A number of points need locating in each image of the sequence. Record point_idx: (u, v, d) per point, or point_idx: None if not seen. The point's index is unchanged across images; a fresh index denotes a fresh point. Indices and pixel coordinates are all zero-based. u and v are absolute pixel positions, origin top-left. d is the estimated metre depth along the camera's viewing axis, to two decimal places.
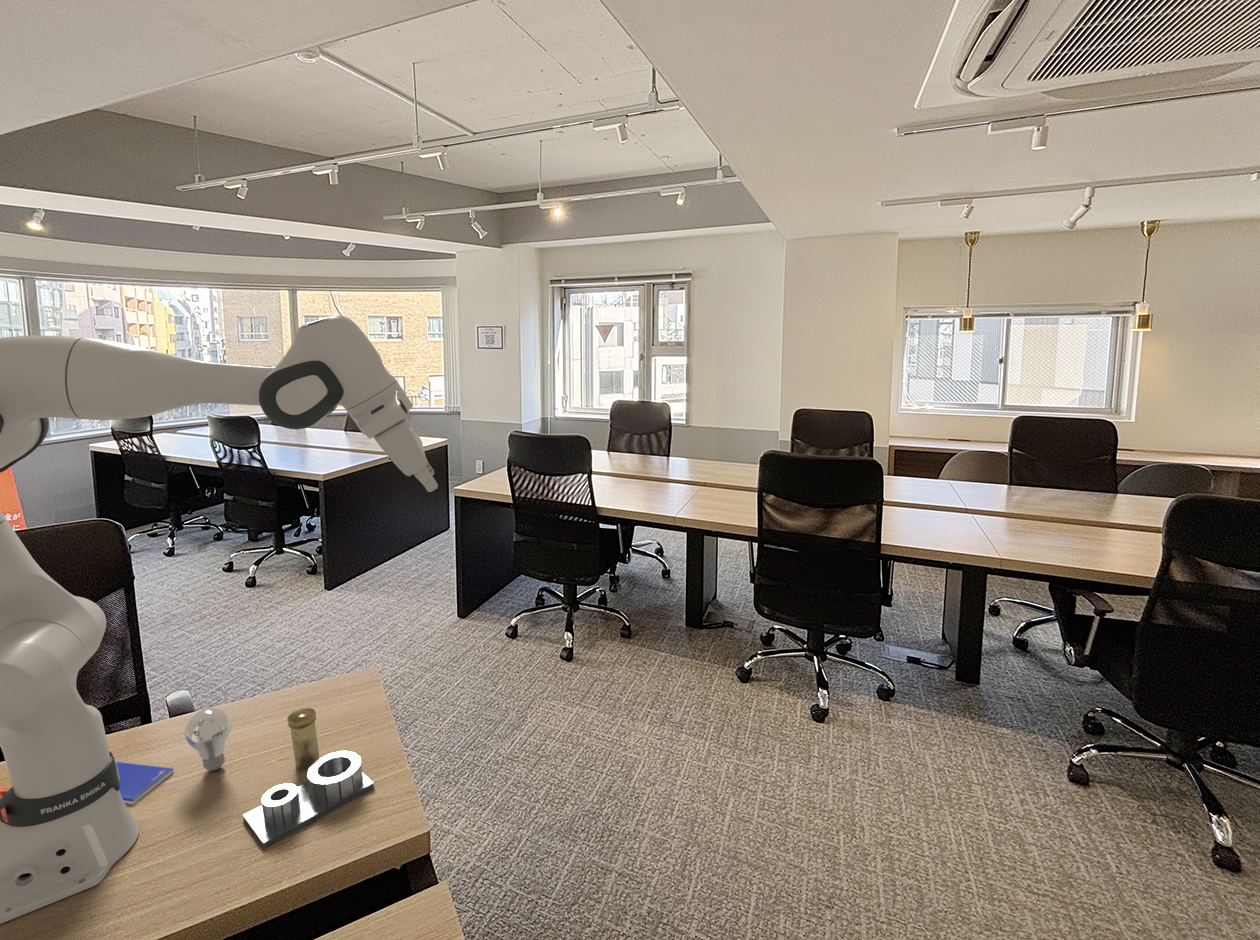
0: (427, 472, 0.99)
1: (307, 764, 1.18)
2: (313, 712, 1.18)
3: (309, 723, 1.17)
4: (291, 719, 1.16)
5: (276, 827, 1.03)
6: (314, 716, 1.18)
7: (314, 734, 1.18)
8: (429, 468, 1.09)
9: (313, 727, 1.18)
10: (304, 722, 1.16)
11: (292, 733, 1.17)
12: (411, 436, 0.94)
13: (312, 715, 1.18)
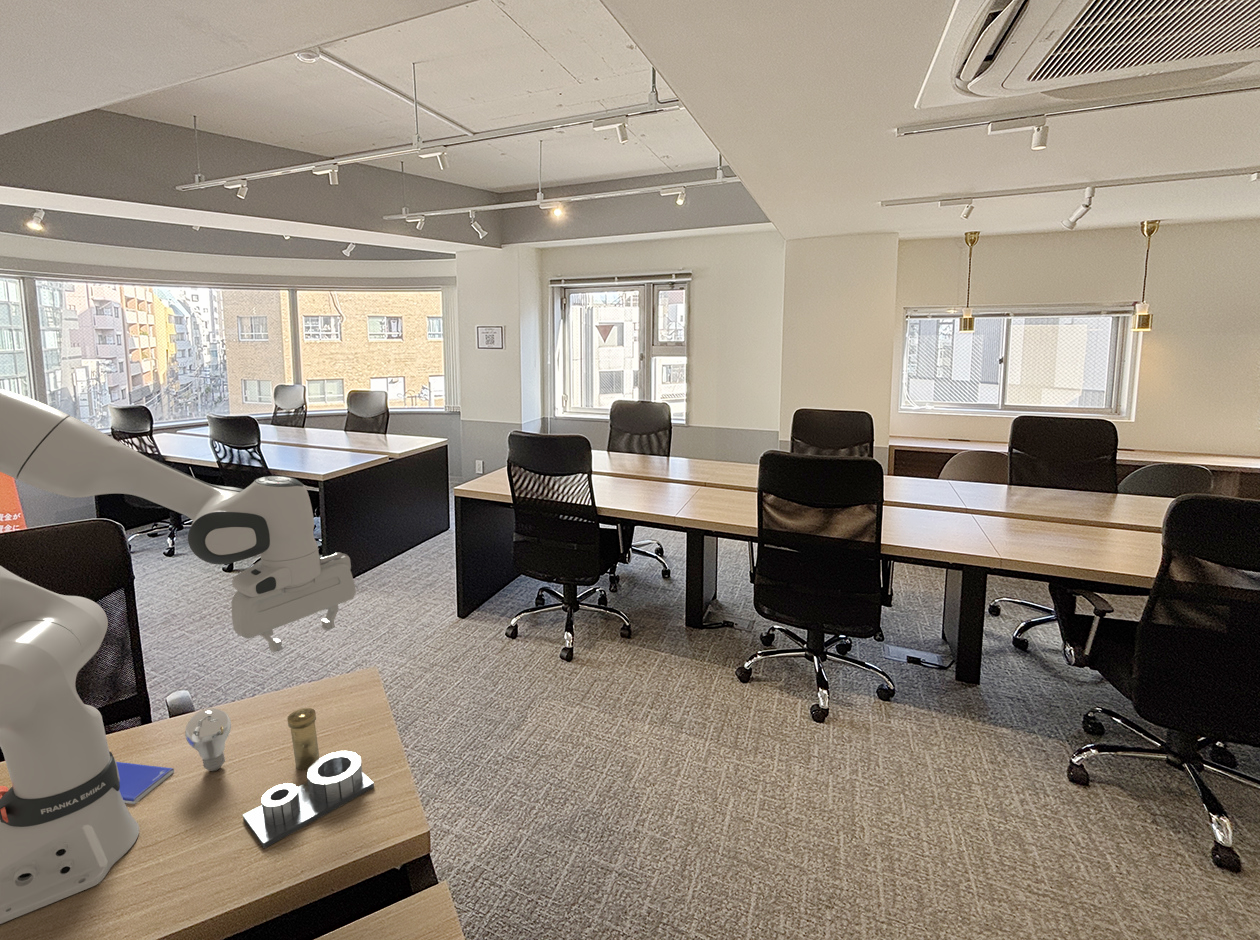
0: (266, 638, 1.09)
1: (307, 764, 1.18)
2: (313, 712, 1.18)
3: (309, 723, 1.17)
4: (291, 719, 1.16)
5: (276, 827, 1.03)
6: (314, 716, 1.18)
7: (314, 734, 1.18)
8: (325, 624, 1.18)
9: (313, 727, 1.18)
10: (304, 722, 1.16)
11: (291, 733, 1.17)
12: (243, 613, 1.04)
13: (312, 715, 1.18)
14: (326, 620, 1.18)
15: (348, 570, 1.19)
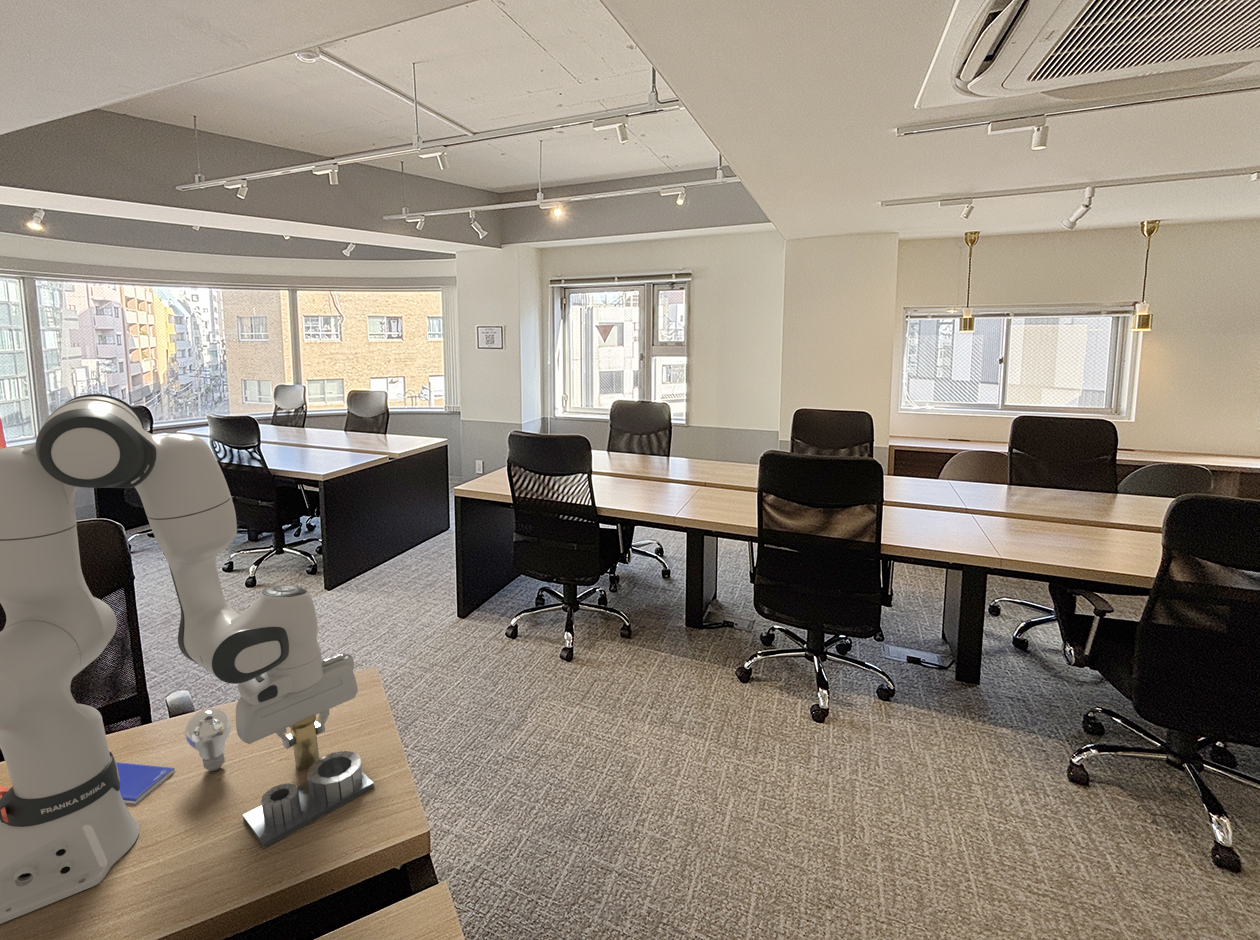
0: (279, 736, 1.14)
1: (307, 764, 1.18)
2: None
3: (309, 722, 1.17)
4: None
5: (276, 827, 1.03)
6: (314, 716, 1.18)
7: (314, 734, 1.18)
8: (316, 728, 1.19)
9: (313, 727, 1.18)
10: (304, 722, 1.16)
11: (291, 733, 1.17)
12: (244, 720, 1.08)
13: None
14: (317, 724, 1.20)
15: (350, 671, 1.22)
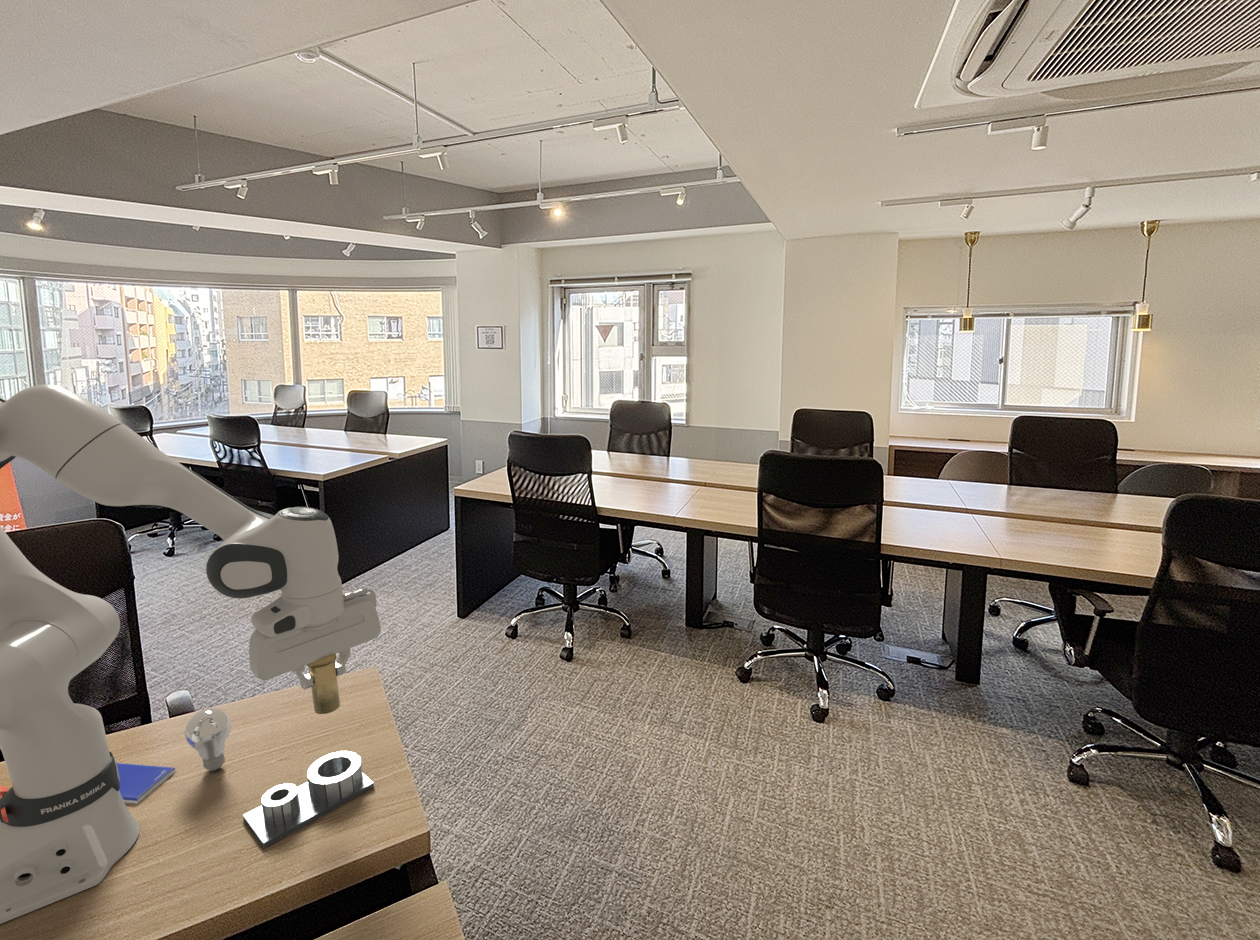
0: (297, 675, 1.04)
1: (327, 707, 1.08)
2: None
3: (330, 661, 1.06)
4: None
5: (276, 827, 1.03)
6: (334, 654, 1.08)
7: (334, 675, 1.08)
8: (336, 669, 1.09)
9: (333, 666, 1.08)
10: (324, 660, 1.06)
11: (310, 673, 1.07)
12: (259, 654, 0.98)
13: None
14: (337, 664, 1.10)
15: (373, 607, 1.12)
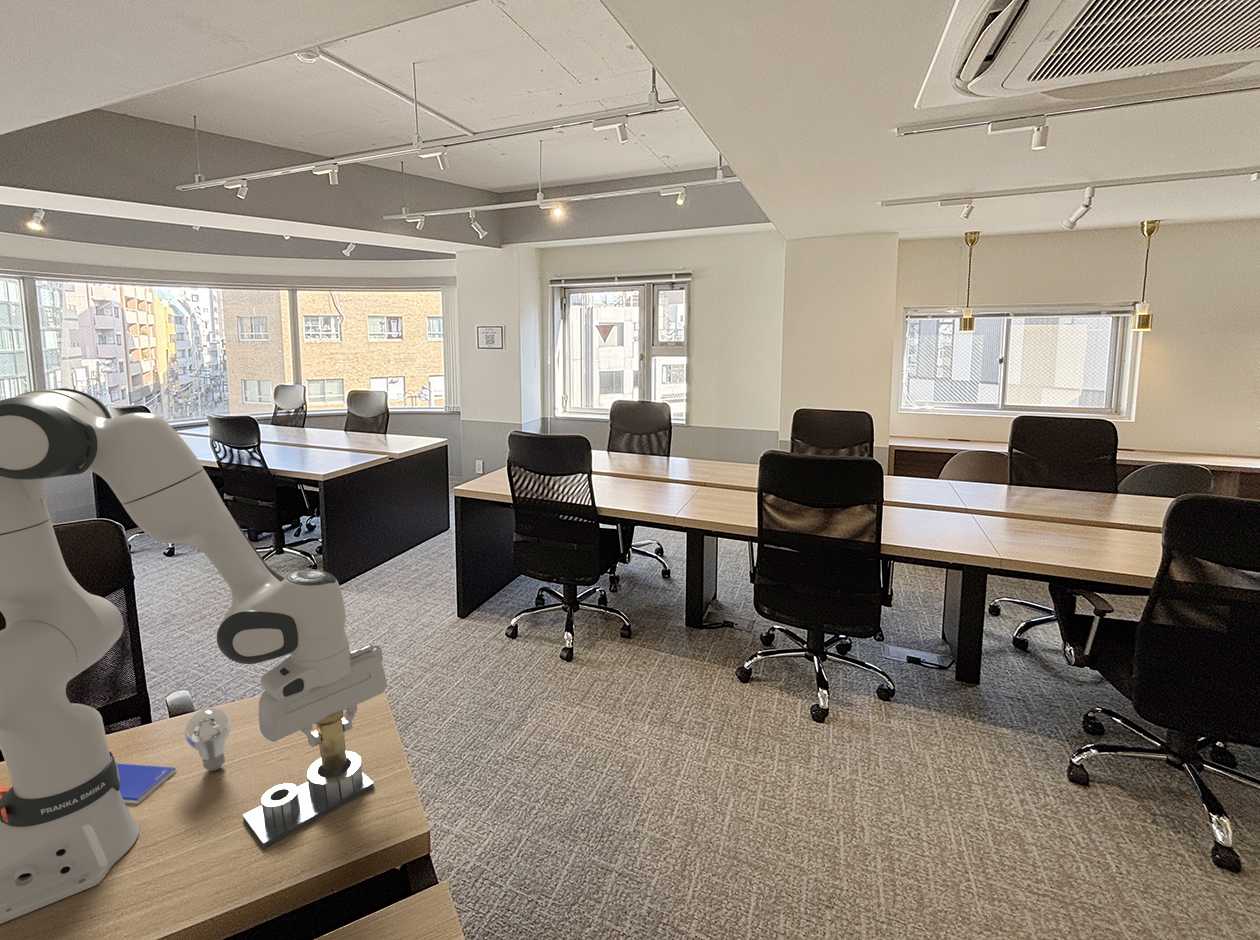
0: None
1: (334, 763, 1.10)
2: None
3: (337, 719, 1.09)
4: None
5: (276, 827, 1.03)
6: (341, 712, 1.10)
7: (341, 731, 1.10)
8: (343, 725, 1.11)
9: (340, 723, 1.10)
10: (331, 718, 1.08)
11: (318, 731, 1.09)
12: (269, 716, 1.00)
13: None
14: (344, 720, 1.12)
15: (379, 664, 1.14)
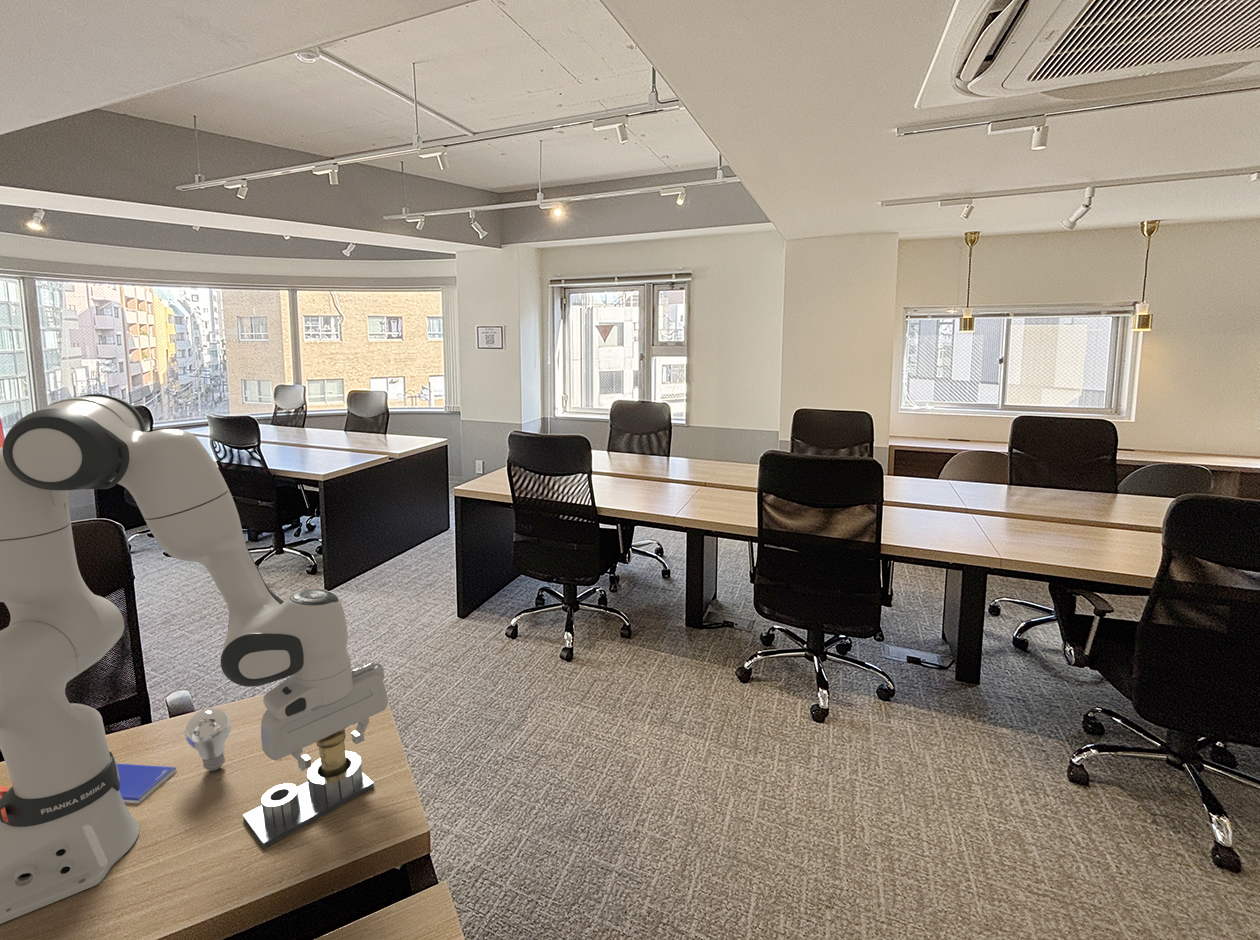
0: (295, 757, 1.06)
1: None
2: (342, 730, 1.12)
3: (339, 741, 1.10)
4: None
5: (276, 827, 1.03)
6: (344, 734, 1.11)
7: (343, 753, 1.11)
8: (355, 738, 1.14)
9: (342, 746, 1.11)
10: (333, 741, 1.09)
11: (320, 753, 1.10)
12: (271, 736, 1.01)
13: (341, 733, 1.11)
14: (356, 733, 1.14)
15: (381, 681, 1.15)
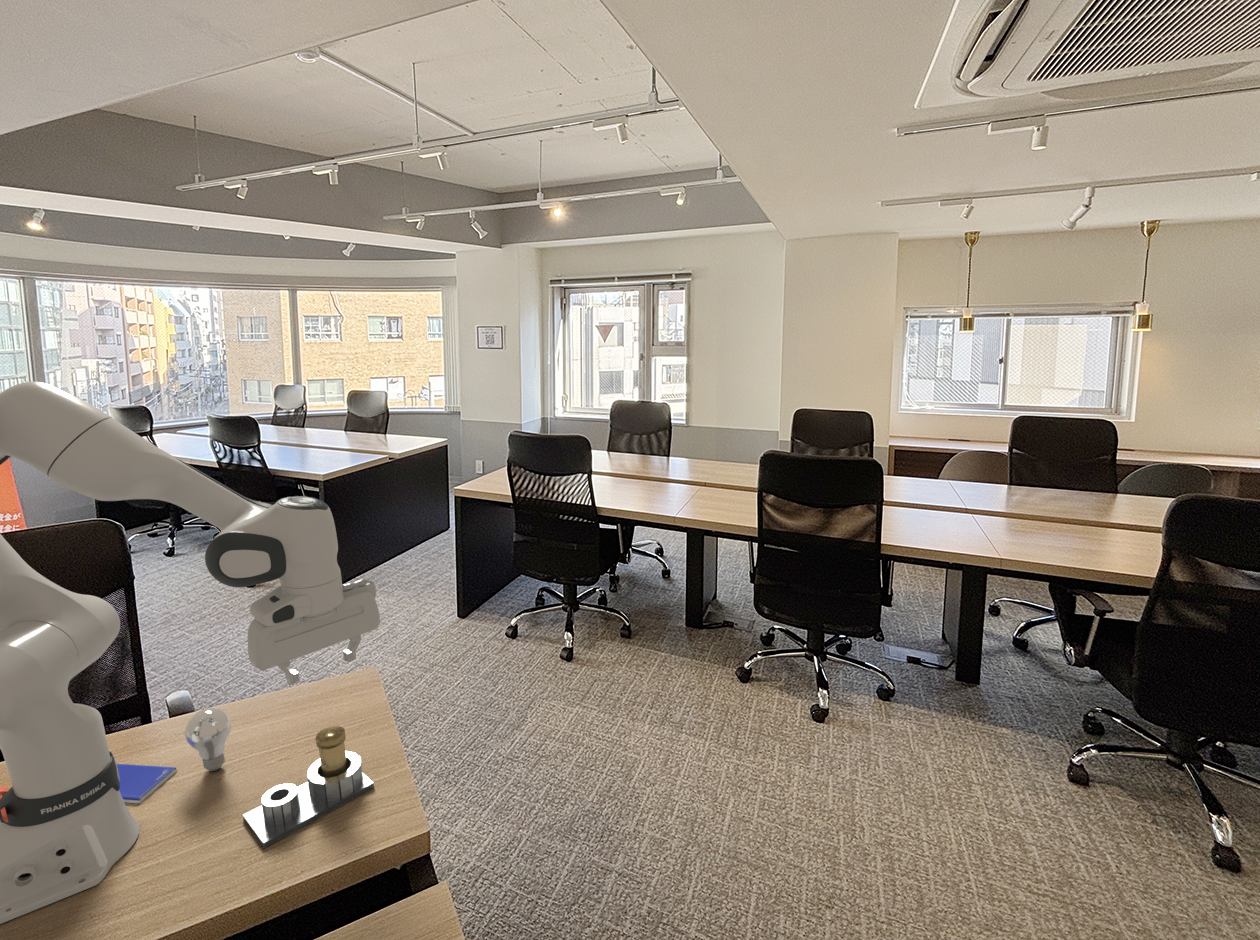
0: (282, 670, 1.02)
1: None
2: (343, 731, 1.11)
3: (339, 742, 1.10)
4: (320, 739, 1.09)
5: (276, 827, 1.03)
6: (344, 735, 1.11)
7: (343, 754, 1.11)
8: (346, 655, 1.10)
9: (342, 746, 1.11)
10: (334, 742, 1.09)
11: (320, 754, 1.10)
12: (258, 643, 0.98)
13: (342, 734, 1.11)
14: (347, 651, 1.11)
15: (372, 598, 1.11)
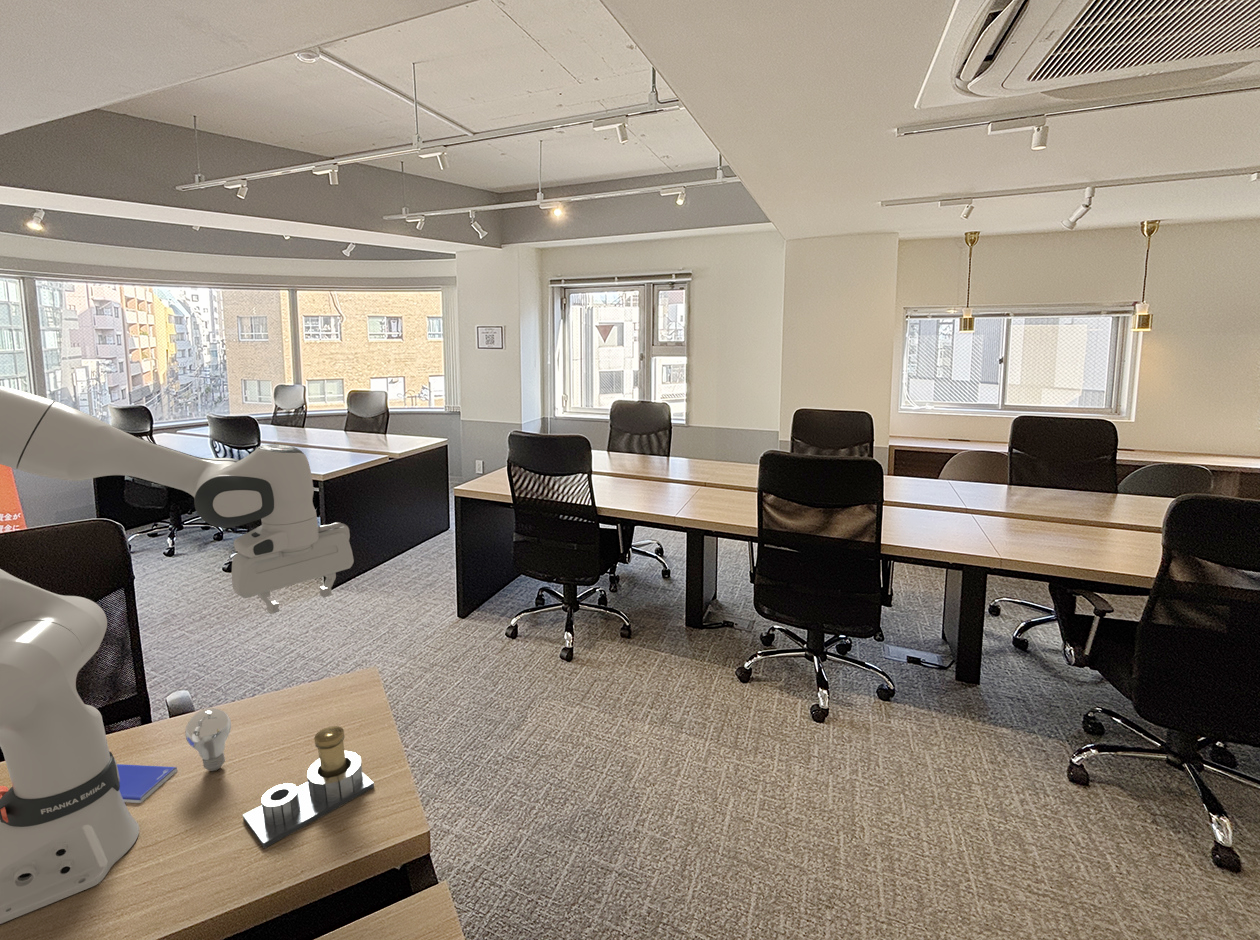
0: (263, 600, 1.14)
1: None
2: (341, 731, 1.11)
3: (338, 742, 1.10)
4: (318, 739, 1.09)
5: (276, 827, 1.03)
6: (342, 735, 1.11)
7: (343, 754, 1.11)
8: (322, 591, 1.22)
9: (341, 746, 1.11)
10: (333, 742, 1.09)
11: (319, 754, 1.10)
12: (240, 573, 1.09)
13: (340, 734, 1.10)
14: (324, 587, 1.22)
15: (346, 540, 1.23)
